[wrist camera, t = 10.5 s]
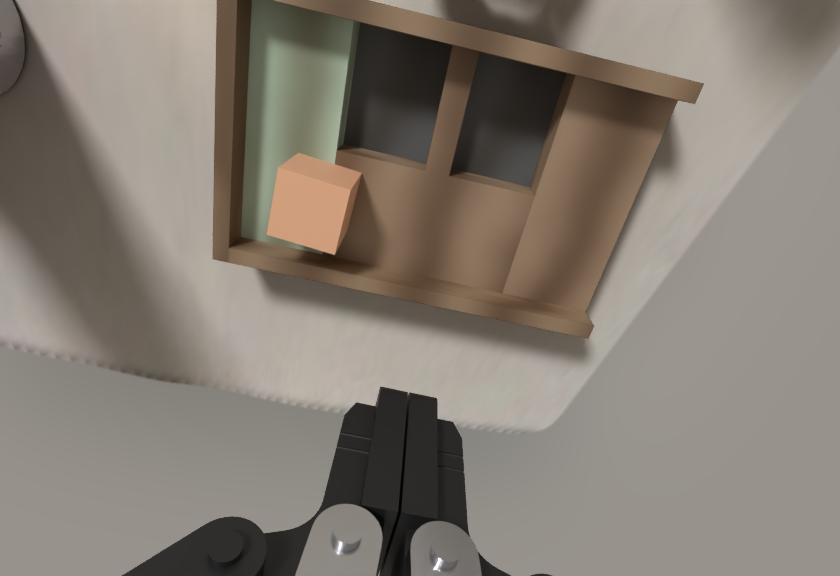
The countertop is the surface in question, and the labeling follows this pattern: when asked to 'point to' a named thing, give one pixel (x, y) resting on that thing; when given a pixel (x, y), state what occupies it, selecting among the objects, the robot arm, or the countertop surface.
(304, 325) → the countertop surface
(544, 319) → the box
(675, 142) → the countertop surface
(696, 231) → the countertop surface
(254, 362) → the countertop surface
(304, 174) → the terracotta block
